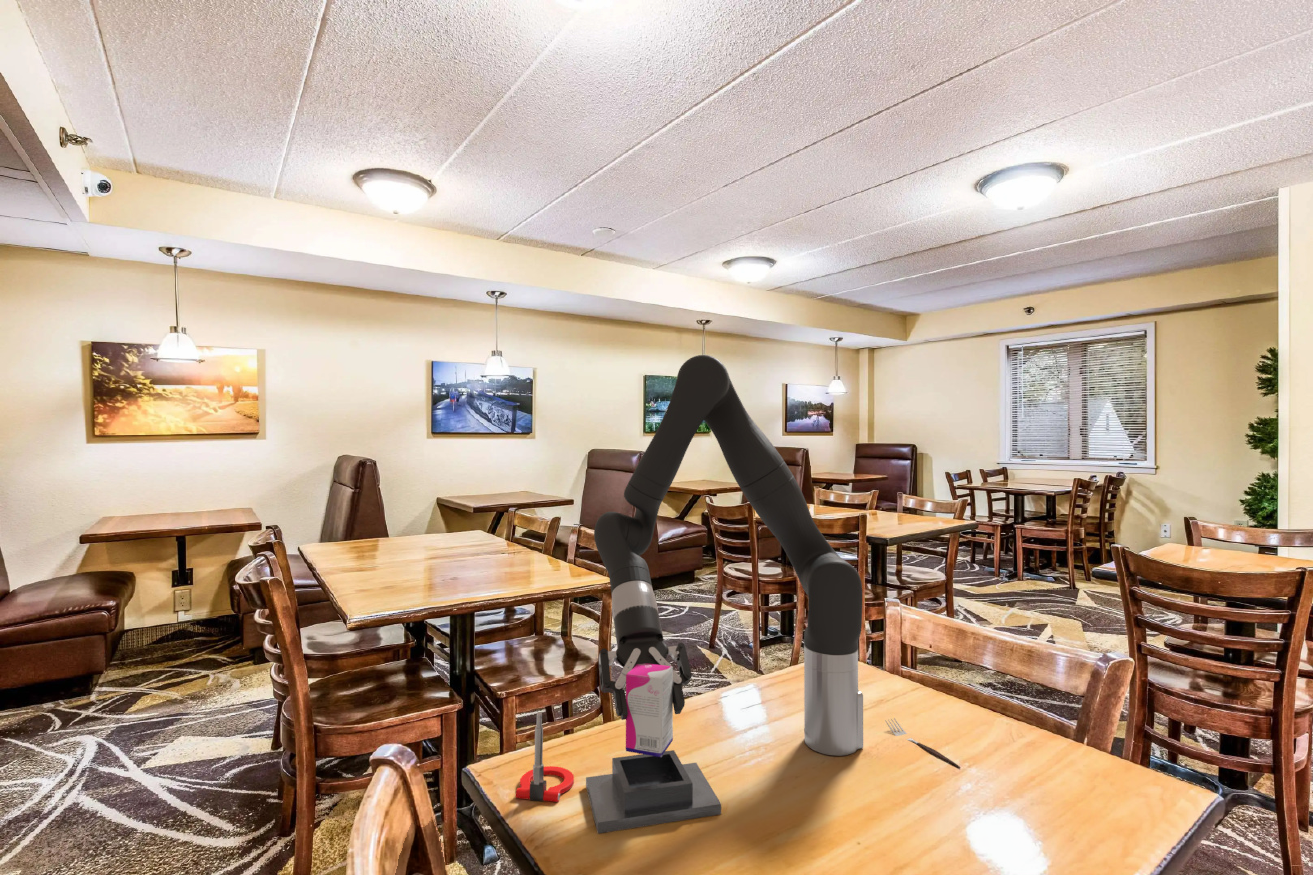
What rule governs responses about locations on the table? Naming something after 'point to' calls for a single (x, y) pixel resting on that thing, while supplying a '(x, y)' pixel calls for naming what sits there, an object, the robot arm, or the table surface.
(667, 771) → the socket plate
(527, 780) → the tow hook
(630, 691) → the supplement box
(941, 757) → the fork
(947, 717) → the table surface
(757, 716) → the table surface
